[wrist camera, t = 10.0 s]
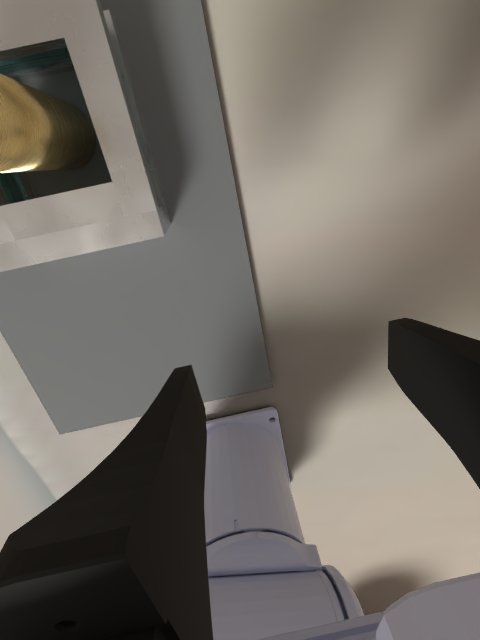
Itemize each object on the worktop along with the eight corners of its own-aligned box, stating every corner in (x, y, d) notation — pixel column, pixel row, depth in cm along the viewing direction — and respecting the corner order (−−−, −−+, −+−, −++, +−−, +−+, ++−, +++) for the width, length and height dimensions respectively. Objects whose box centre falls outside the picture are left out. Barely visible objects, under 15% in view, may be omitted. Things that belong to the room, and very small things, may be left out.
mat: (271, 382, 25) (272, 387, 24) (62, 429, 25) (59, 434, 24) (177, -119, 14) (177, -129, 13) (-204, -40, 14) (-218, -47, 13)
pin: (104, 161, 17) (-4, 162, 8) (49, 174, 17) (-120, 188, 8) (81, 94, 16) (-77, 8, 7) (21, 107, 16) (-215, 39, 7)
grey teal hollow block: (171, 223, 19) (164, 236, 16) (33, 253, 19) (-4, 272, 15) (84, -91, 14) (43, -178, 10) (-110, -51, 13) (-218, -126, 10)
